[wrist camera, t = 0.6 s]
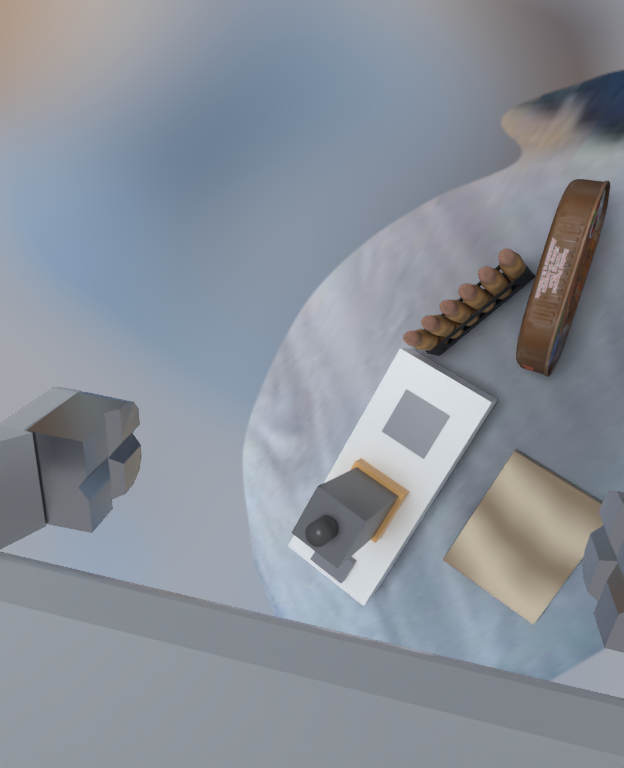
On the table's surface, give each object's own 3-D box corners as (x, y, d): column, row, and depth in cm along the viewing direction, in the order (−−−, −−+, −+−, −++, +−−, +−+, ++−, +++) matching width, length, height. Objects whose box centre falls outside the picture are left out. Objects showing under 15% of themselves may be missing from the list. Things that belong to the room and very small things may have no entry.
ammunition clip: (438, 356, 53) (403, 355, 42) (426, 341, 53) (388, 336, 42) (535, 276, 49) (524, 252, 38) (521, 260, 50) (506, 232, 39)
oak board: (515, 449, 50) (514, 451, 49) (614, 510, 47) (615, 513, 46) (445, 556, 53) (442, 559, 52) (534, 620, 50) (533, 624, 49)
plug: (371, 453, 55) (304, 484, 41) (418, 484, 53) (363, 527, 39) (346, 497, 56) (272, 541, 42) (390, 529, 54) (328, 585, 41)
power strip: (412, 349, 54) (397, 348, 49) (497, 399, 51) (490, 403, 46) (305, 534, 59) (284, 548, 55) (377, 590, 56) (360, 609, 52)
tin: (554, 376, 49) (550, 379, 41) (516, 366, 50) (506, 367, 42) (612, 198, 47) (619, 167, 39) (571, 192, 48) (570, 160, 40)
